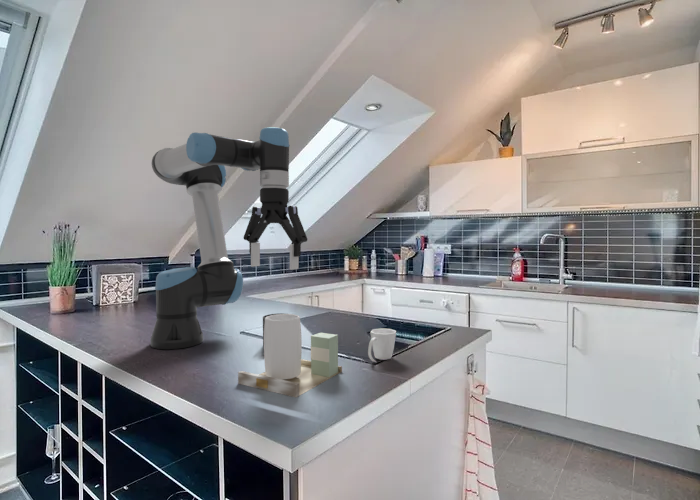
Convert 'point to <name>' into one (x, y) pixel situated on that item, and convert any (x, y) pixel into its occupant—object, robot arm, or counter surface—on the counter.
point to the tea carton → (324, 354)
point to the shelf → (285, 381)
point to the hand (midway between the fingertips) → (274, 267)
